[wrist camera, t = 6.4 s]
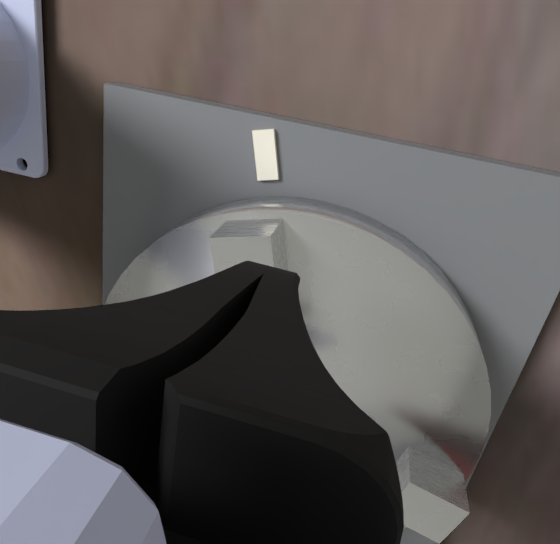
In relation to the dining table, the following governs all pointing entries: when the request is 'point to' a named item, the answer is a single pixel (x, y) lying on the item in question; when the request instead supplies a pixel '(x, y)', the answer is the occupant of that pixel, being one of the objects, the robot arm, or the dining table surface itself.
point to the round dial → (357, 330)
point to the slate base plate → (342, 204)
